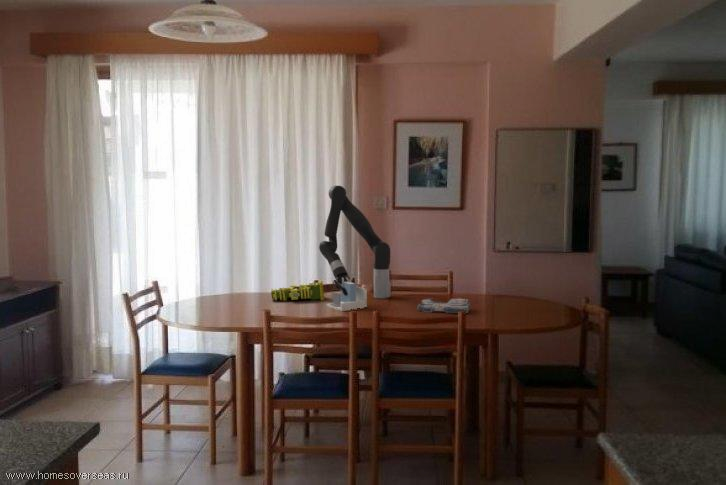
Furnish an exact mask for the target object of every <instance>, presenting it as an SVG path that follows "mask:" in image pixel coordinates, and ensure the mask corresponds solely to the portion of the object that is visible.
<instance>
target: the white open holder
mask: <svg viewBox="0 0 726 485" xmlns="http://www.w3.org/2000/svg"><path fill="white" fill-rule="evenodd" d="M367 291H368V290H367V288H365V287H364V288H363V287H359V286H357V285H356V301H352V302H341V299H340V293H339V292H335V291H332V303H331V302H330V303H326V307H329V308H331V309H335V310H338V311H341V312H344V311H353V309H354V310H358V309H357V308H360V309H365V308H364V307H367V308H368V302H367V301H368V299H367V298H368V295H367V294H368V292H367ZM351 309H352V310H351Z"/></svg>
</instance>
